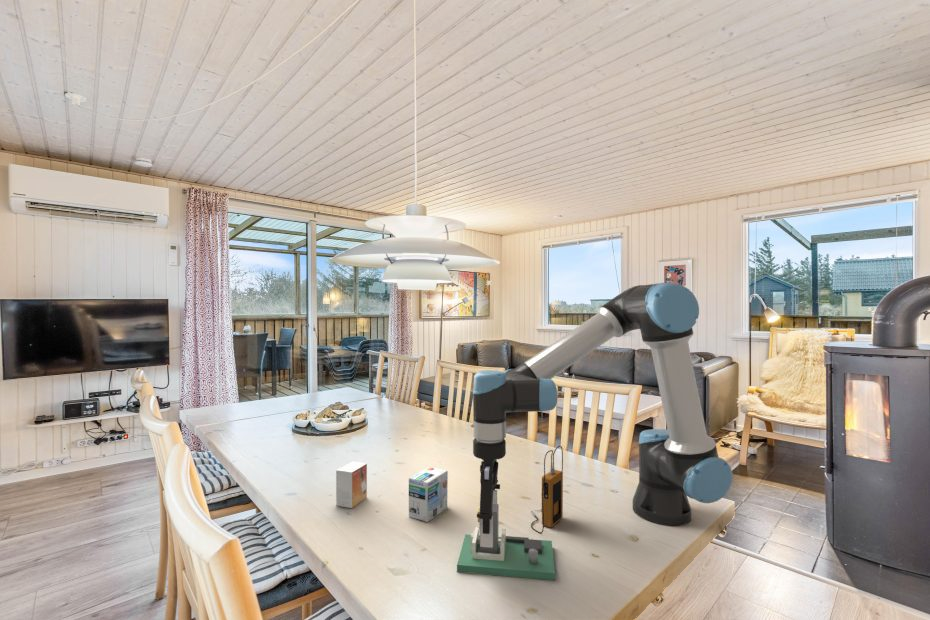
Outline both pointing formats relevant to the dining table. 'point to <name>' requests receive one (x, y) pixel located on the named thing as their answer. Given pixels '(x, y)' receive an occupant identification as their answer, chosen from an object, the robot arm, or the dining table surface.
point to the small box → (351, 484)
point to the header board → (508, 557)
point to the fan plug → (495, 532)
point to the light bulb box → (428, 493)
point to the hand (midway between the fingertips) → (489, 530)
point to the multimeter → (551, 496)
